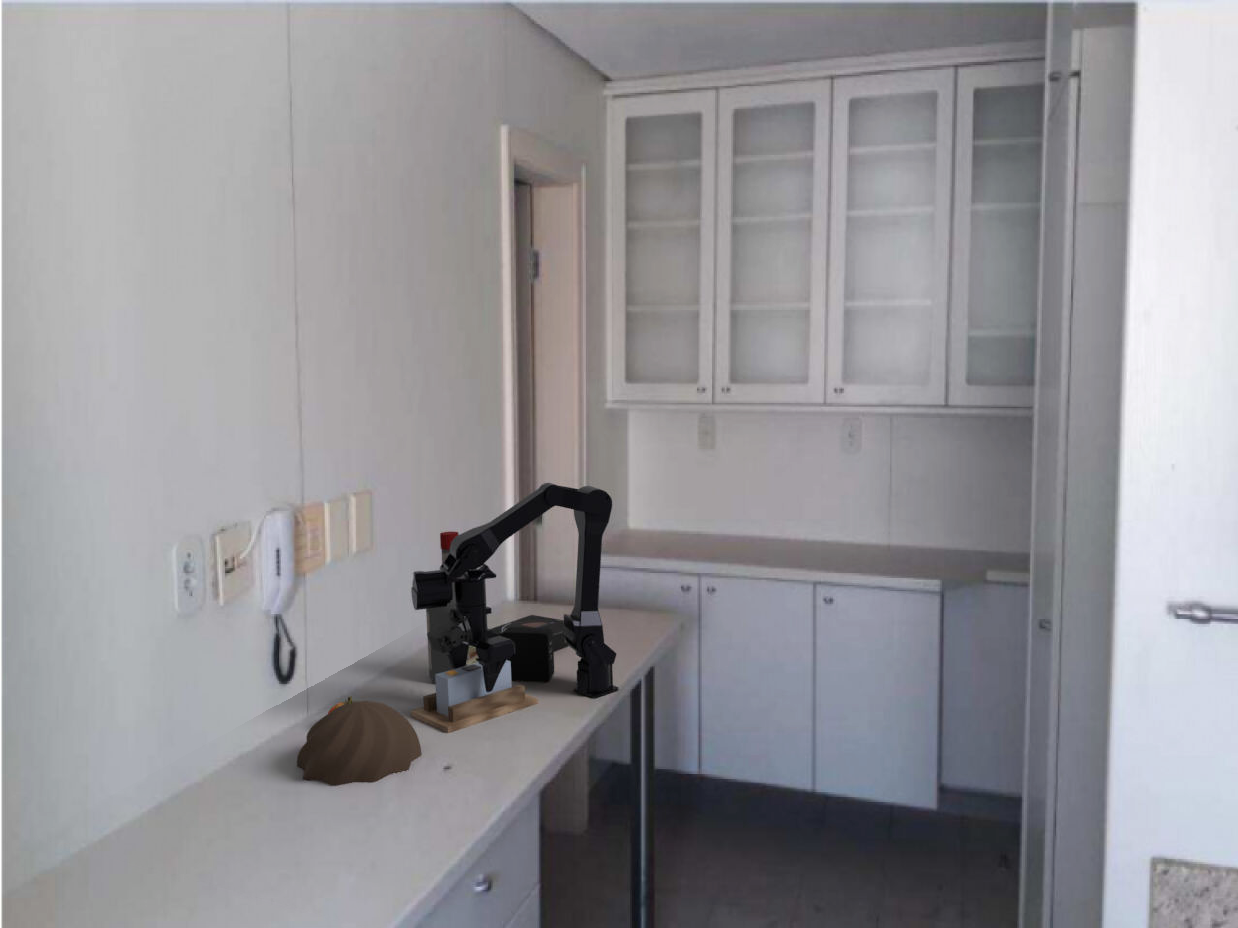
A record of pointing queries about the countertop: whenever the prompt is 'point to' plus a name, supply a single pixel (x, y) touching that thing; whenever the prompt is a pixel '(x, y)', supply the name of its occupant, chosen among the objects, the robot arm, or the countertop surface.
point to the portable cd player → (537, 622)
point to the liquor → (439, 615)
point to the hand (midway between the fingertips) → (474, 686)
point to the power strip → (466, 685)
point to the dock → (473, 709)
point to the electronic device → (531, 653)
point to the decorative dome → (358, 745)
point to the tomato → (341, 704)
